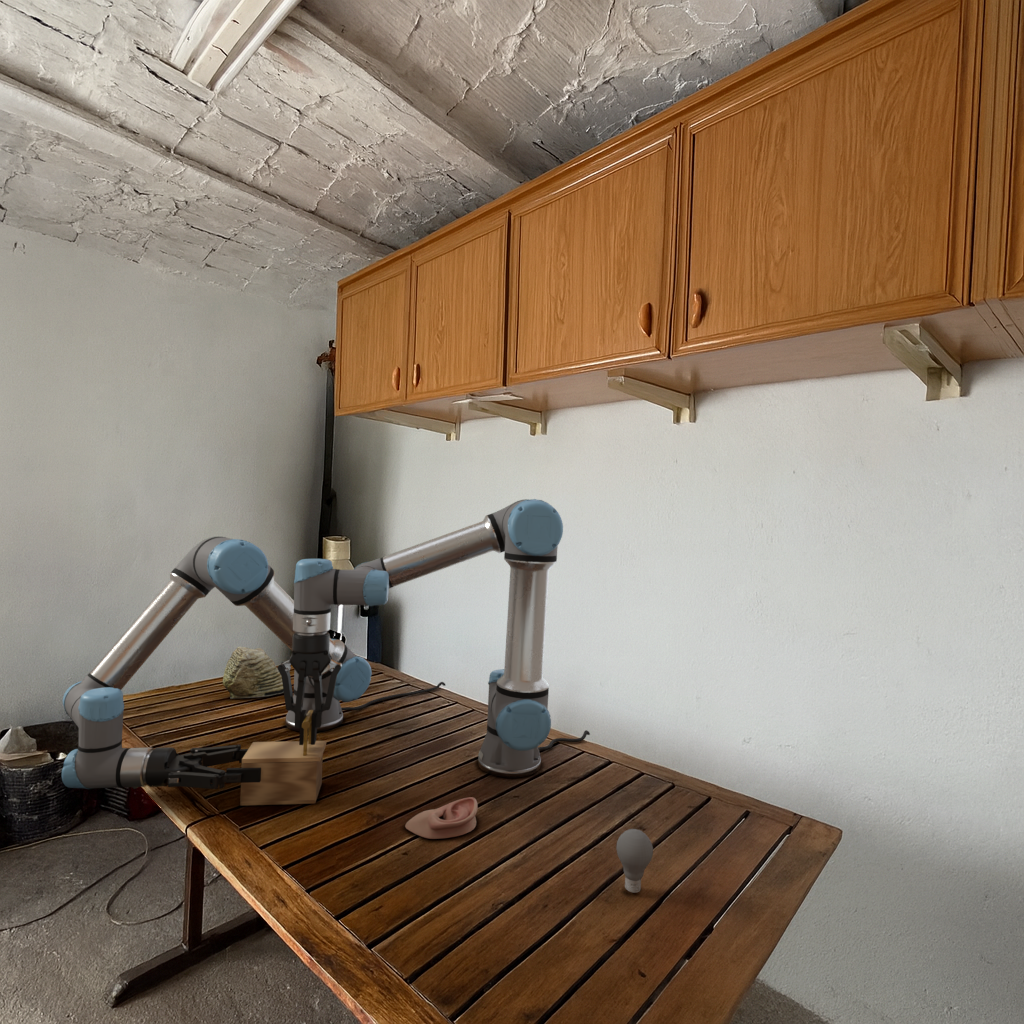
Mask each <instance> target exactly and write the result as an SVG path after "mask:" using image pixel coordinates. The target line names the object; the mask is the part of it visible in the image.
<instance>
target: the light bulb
mask: <svg viewBox="0 0 1024 1024" xmlns="http://www.w3.org/2000/svg"><path fill="white" fill-rule="evenodd" d="M615 849H616V854H617V857H618V859H619V861H620V863H621V865H622V867H623V873H624V874H623V875H624V876H625V878H624V888H625V890H627V891H628V892H630V893H634V894H635V893H639V892H640V891H641V889H642V887H641V886H642V879H643V877H644V875H645V871H646V868H647V867H648V866H649V864H650V863H651V861H652V859H653V855H654V847H653V843H652V841H651V838H649V836H648V835H647V834H646V833H645V832H643V831H642V830H641V829H636V828H629V829H627V830H625V831H623V832H622V833H621V834H620V835H619V837H618V839H617V841H616V847H615Z"/></svg>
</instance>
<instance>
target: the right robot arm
mask: <svg viewBox="0 0 1024 1024" xmlns="http://www.w3.org/2000/svg"><path fill="white" fill-rule="evenodd" d="M563 534H564V523H563V519H562V517H561V515H560V513H559V512H558V511H557V509H556V508H555V507H554V506H553V505H552V504H550V503H548V502H547V501H545V500H543V499H536V498H532V499H527V498H526V499H520V500H517V501H514V502H512V503H510V504H509V505H507V506H505V507H504V508H501V509H499V510H496V511H495V512H492V513H489V514H487V515H484V519H483V520H482V521H480V522H477V523H474V524H471V525H468V526H465V527H462V528H460V529H457V530H453V531H451V532H449V533H446V534H443V535H441V536H437V537H435V538H432V539H429V540H426V541H424V542H423V541H422V542H421V543H418V544H415V545H412V546H409V547H406V548H404V549H401V550H398V551H395V552H392V553H390V554H387V555H384V556H382V557H380V558H376V559H373V560H371V561H364V562H362V563H359V564H357V565H356V566H355V567H354V568H353V569H337V568H334V566H333V562H332V560H330V559H327V558H303V559H300V560H298V561H297V562H296V564H295V572H294V580H293V587H294V588H293V600H294V614H293V631H295V633H294V634H293V643H292V650H291V654H290V656H289V659H288V660H286V661H281V662H280V663H279V665H278V666H277V668H278V671H279V672H280V674H281V676H282V683H283V690H284V692H283V698H284V704H285V710H286V711H287V712H288V711H293V712H294V713H295V728H300V731H299V735H298V736H299V737H298V739H299V740H298V741H299V745H303V744H304V729H303V728H302V723H303V721H304V719H305V717H306V710H302V708H303V700H304V692H305V683H306V677H307V676H311V677H313V681H314V694H315V710H313V713H312V722H311V745H315V742H316V741H317V737H318V736H317V733H318V732H317V728H320V727H321V724H322V712H323V711H325V710H329V709H330V707H331V704H332V700H333V695H334V690H335V684H336V679H337V674H338V673H339V671H340V669H341V667H342V663H341V662H338V663H337V662H336V661H334V660H332V658H331V655H330V653H329V645H330V638H331V634H330V633H329V631H330V630H331V617H332V616H331V615H332V612H331V609H332V608H331V607H332V605H333V606H334V605H335V606H339V605H340V606H342V605H343V606H368V607H374V606H384V605H386V604H387V603H388V600H389V592H390V591H389V590H390V589H392V588H394V587H397V586H399V585H403V584H405V583H409V582H411V581H413V580H414V581H415V580H417V579H419V578H422V577H424V576H428V575H431V574H433V573H436V572H439V571H442V570H445V569H447V568H450V567H452V566H456V565H459V564H461V563H464V562H466V561H470V560H473V559H475V558H478V557H481V556H483V555H486V554H489V553H492V552H494V553H498V554H501V553H504V554H503V555H504V556H503V559H504V561H505V562H506V563H507V564H508V566H509V568H510V569H509V586H508V587H509V588H508V600H507V602H508V603H507V620H506V636H505V637H506V638H505V651H504V652H505V653H504V666H503V667H504V668H501V669H495V670H492V671H491V672H490V674H489V678H488V681H487V684H488V696H487V697H488V699H487V718H486V721H487V722H486V733H485V736H484V739H483V741H482V744H481V747H480V749H479V751H478V754H477V756H478V757H477V765H478V767H479V768H480V769H481V770H482V771H483V772H485V773H487V774H489V775H491V776H496V777H500V778H512V779H513V778H514V779H515V778H524V777H528V776H531V775H534V774H535V773H538V771H539V770H540V769H541V765H542V763H541V762H542V757H541V753H540V752H543V751H548V750H550V749H551V748H552V747H553V746H554V744H555V743H561V742H563V743H564V742H565V743H580V742H582V741H584V740H585V739H586V737H587V736H590V735H591V733H590V731H589V730H588V729H586V730H584V731H583V734H582V736H580V737H578V738H570V737H569V738H568V737H557V738H553V739H552V740H551V741H550V742H549V744H548V745H545V746H540V745H542V744H543V743H544V742H545V741H546V740H547V738H548V737H549V735H550V732H551V728H552V719H551V718H552V717H551V714H550V711H549V710H548V708H549V707H548V706H549V690H550V684H549V683H548V681H547V680H546V679H545V678H544V674H543V673H544V662H545V661H544V660H545V645H546V627H547V626H546V625H547V614H548V613H547V610H548V595H549V579H550V571H551V568H552V567H554V566H555V565H556V564H557V559H558V549H559V544H560V542H561V541H562V538H563ZM328 665H330V671H331V672H332V673H331V676H330V681H329V686H328V691H327V696H326V701H325V703H323V699H322V680H321V678H322V672H323V671H324V670H325V669H326V667H327V666H328ZM291 666H292V667H291ZM291 668H293V669H295V670H296V672H297V673H298V674H299V676H298V688H297V696H296V704H295V703H294V700H293V696H294V691H293V685H292V679H291V678H292V677H291V672H290V671H291Z"/></svg>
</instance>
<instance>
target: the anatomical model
mask: <svg viewBox="0 0 1024 1024" xmlns="http://www.w3.org/2000/svg"><path fill="white" fill-rule="evenodd" d="M478 805H479V804H478V801H477V799H476V798H475V797H471V796H469V797H464V798H460V799H457V800H454V801H452V802H449V803H446V804H444V805H442V806H440V807H437V808H435V809H427V810H424V811H421V812H419V813H417V814H416V815H413V816H412V817H411V818H410V819H409V820H408V821H407V822H406V823H405V825H404V827H405V829H406V830H408V831H409V832H411V833H413V834H415V835H416V836H418V837H422V838H424V839H427V840H428V839H430V840H437V839H438V840H439V839H449V838H455V837H459V836H463V835H466V834H468V833H470V832H472V831H473V830H474V829H475V828H476V826H477V818H476V815H477V813H478V807H479V806H478Z"/></svg>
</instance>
